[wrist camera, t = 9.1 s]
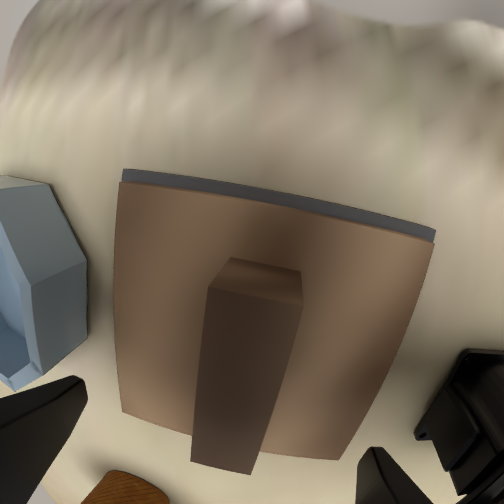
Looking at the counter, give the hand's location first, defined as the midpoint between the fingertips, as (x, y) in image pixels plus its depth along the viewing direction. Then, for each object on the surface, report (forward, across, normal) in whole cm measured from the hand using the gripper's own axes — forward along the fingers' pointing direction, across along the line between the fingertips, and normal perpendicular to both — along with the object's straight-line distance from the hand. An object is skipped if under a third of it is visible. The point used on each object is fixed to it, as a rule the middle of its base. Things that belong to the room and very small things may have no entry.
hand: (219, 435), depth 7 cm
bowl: (+6, +14, 0) cm, 15 cm away
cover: (+5, 0, 0) cm, 5 cm away
